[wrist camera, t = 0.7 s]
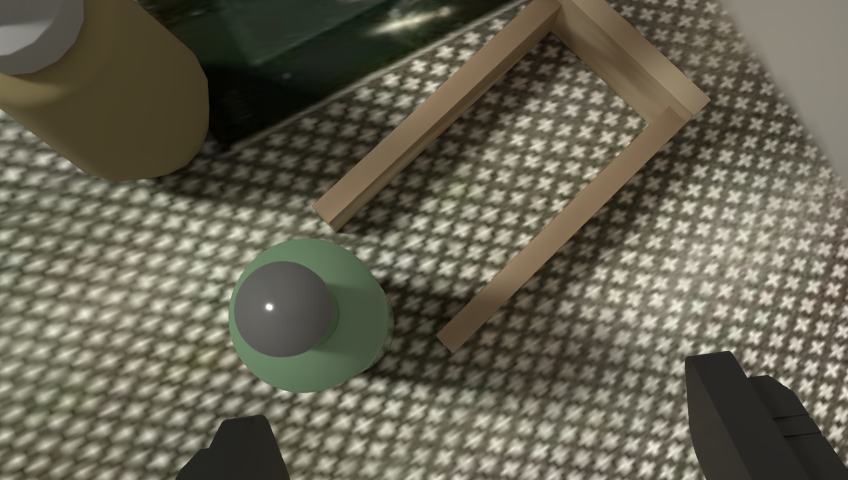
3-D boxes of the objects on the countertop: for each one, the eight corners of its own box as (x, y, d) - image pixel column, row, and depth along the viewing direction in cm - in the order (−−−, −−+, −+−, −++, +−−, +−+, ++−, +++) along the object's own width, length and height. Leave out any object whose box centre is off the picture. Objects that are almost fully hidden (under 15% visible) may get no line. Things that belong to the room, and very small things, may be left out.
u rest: (320, 216, 37) (308, 201, 33) (550, 2, 38) (565, -37, 34) (450, 352, 36) (454, 353, 32) (680, 124, 37) (711, 99, 33)
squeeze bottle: (209, 38, 38) (24, -228, 20) (246, 173, 37) (84, 16, 19) (68, 78, 38) (-248, -157, 20) (101, 215, 37) (-203, 96, 19)
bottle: (271, 322, 36) (150, 306, 20) (346, 251, 36) (287, 180, 20) (341, 397, 35) (276, 443, 19) (416, 324, 36) (413, 310, 20)
